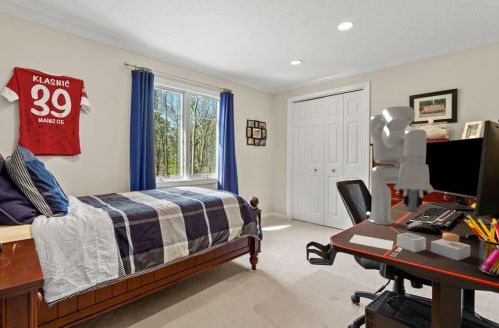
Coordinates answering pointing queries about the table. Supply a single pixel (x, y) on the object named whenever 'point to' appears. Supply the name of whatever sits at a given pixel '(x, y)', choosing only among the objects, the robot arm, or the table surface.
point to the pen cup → (411, 242)
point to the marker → (412, 201)
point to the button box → (450, 249)
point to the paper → (372, 242)
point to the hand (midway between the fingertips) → (412, 206)
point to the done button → (450, 237)
